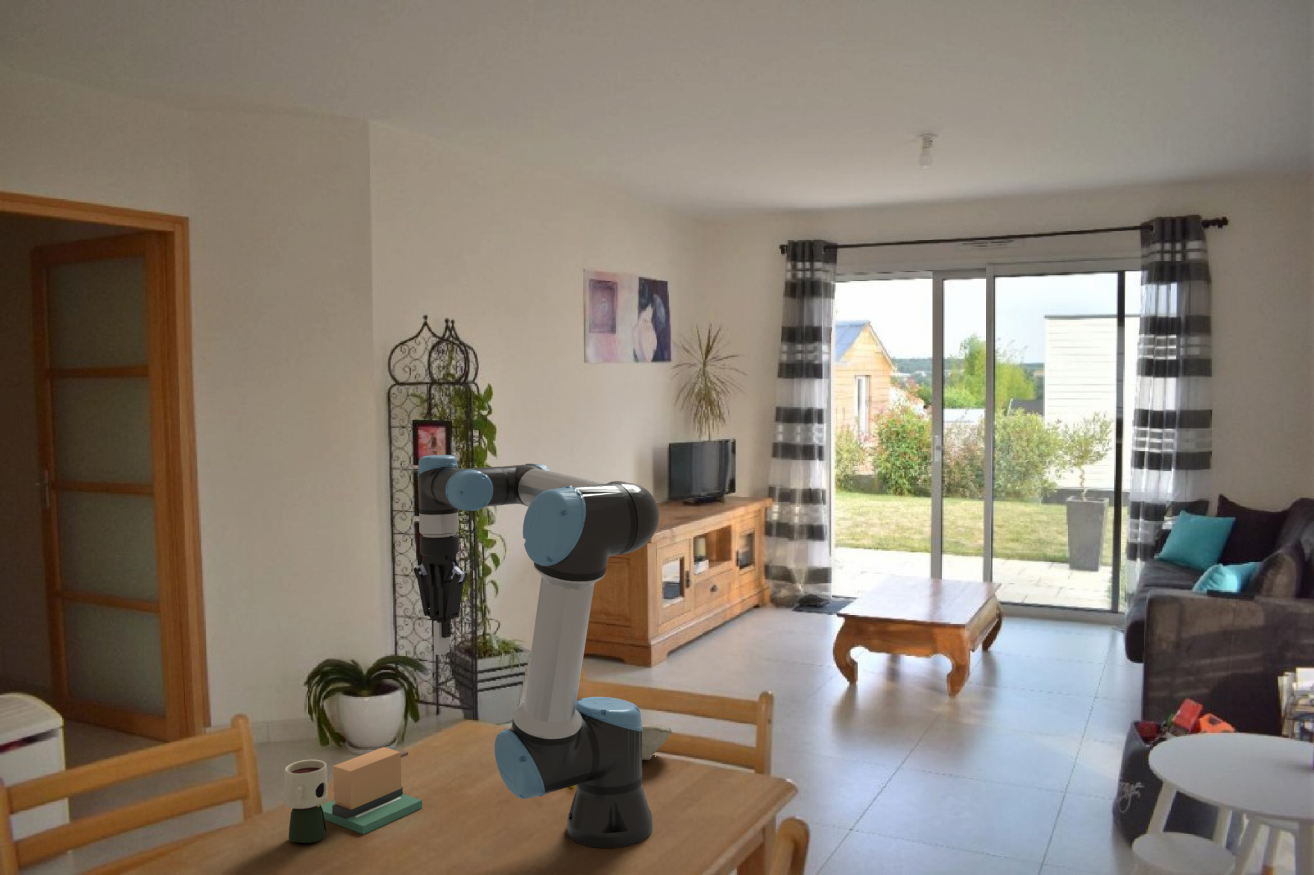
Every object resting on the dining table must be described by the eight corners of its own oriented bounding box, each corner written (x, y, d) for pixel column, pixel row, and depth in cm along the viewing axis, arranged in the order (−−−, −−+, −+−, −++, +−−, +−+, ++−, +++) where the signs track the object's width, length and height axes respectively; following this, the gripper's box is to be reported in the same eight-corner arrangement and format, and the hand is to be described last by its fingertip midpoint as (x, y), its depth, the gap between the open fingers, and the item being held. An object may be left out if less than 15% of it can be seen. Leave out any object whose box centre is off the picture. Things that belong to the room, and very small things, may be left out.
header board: (422, 808, 194) (421, 771, 194) (363, 834, 183) (362, 795, 183) (373, 791, 202) (372, 756, 202) (314, 815, 191) (313, 778, 191)
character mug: (321, 852, 176) (319, 777, 176) (278, 854, 176) (276, 779, 175) (335, 825, 187) (333, 754, 186) (294, 827, 186) (292, 756, 186)
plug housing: (413, 783, 198) (412, 747, 198) (351, 809, 186) (350, 771, 186) (396, 777, 201) (395, 742, 201) (334, 803, 189) (333, 766, 189)
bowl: (680, 751, 222) (680, 705, 222) (663, 775, 209) (662, 726, 208) (614, 745, 226) (613, 700, 226) (593, 768, 213) (592, 720, 212)
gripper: (476, 534, 202) (479, 653, 203) (430, 529, 209) (433, 644, 211) (448, 539, 196) (451, 662, 197) (401, 534, 203) (404, 652, 205)
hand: (441, 652), depth 204 cm, fingers closed
